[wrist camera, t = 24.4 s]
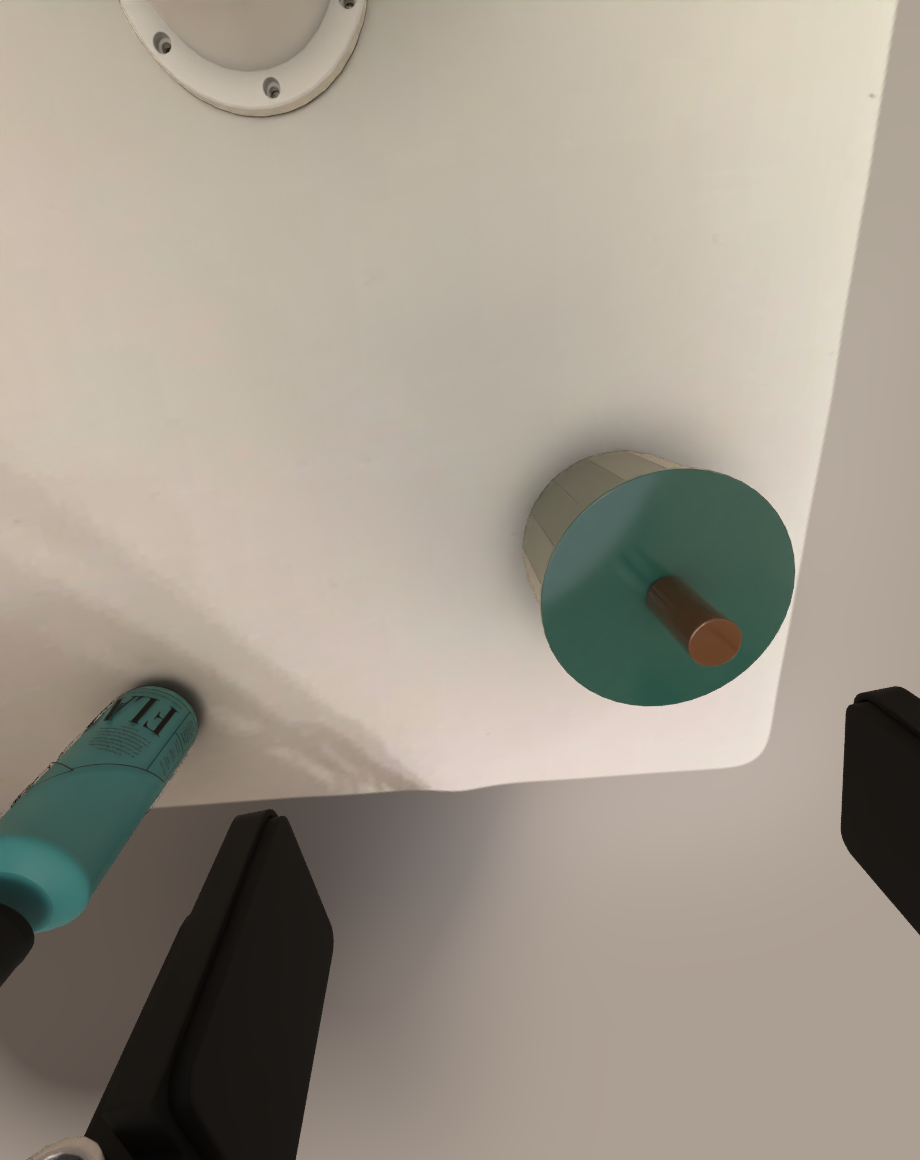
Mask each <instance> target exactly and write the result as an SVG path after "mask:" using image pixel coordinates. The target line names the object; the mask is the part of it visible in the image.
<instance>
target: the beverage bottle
mask: <svg viewBox="0 0 920 1160" xmlns="http://www.w3.org/2000/svg"><path fill="white" fill-rule="evenodd" d="M126 692H127V693H125V692H124V693H125V694H123V693H122V694H123V695H121V694H120V695H121V696H119V697H117V698H118V699H117V698H116V699H117V700H116V701H114V700H113V701H114V703H113V702H112V703H113V704H112V703H111V704H112V705H111V704H109V705H111V706H110V707H109V708H108V709H107V710H106V711H105V709H106V708H107V707H106V708H105V709H104V710H103V711H105V712H104V713H103V714H102V715H101V713H102V712H103V711H102V712H101V713H100V715H101V716H100V717H99V718H98V719H97V720H96V721H95V719H96V718H97V717H98V716H97V717H96V718H95V719H94V720H93V721H92V722H91V723H90V725H89V726H88V727H89V728H87V730H85V731H86V732H85V731H84V732H85V733H84V732H83V733H84V734H83V735H81V737H80V738H79V739H78V740H77V741H76V742H75V743H74V744H73V745H72V746H71V747H70V748H69V749H68V748H67V749H68V750H66V751H65V750H64V751H65V753H64V754H63V755H61V754H62V753H61V754H60V755H61V757H60V756H59V757H60V758H58V759H57V761H56V762H52V763H54V764H53V766H52V767H51V768H50V765H49V767H47V768H49V770H48V771H47V772H46V773H45V774H44V775H43V776H42V777H41V778H40V779H39V780H38V781H37V782H36V783H35V784H34V782H35V781H34V782H33V783H31V784H30V786H31V785H32V784H34V785H32V787H30V786H29V787H30V789H29V790H27V789H28V788H29V787H28V788H27V789H26V790H27V792H26V790H25V792H26V793H25V792H24V793H25V794H24V793H23V796H22V797H21V794H20V795H19V796H18V798H17V799H16V800H14V801H13V804H14V803H15V804H14V805H13V804H12V805H13V806H12V805H11V809H10V810H9V811H8V812H7V813H6V814H5V815H4V816H3V817H2V818H1V820H0V987H1V986H2V984H3V983H4V982H5V981H6V979H7V978H8V977H9V976H10V974H11V973H12V972H13V971H14V969H15V968H16V967H17V966H18V965H19V964H20V963H21V962H22V961H23V960H24V958H25V957H26V956H27V954H28V953H29V951H30V950H31V949H32V946H33V944H34V933H37V932H42V931H47V930H51V929H54V928H57V927H60V926H62V925H65V924H67V923H69V922H70V921H72V920H73V919H75V918H76V917H78V916H79V914H81V913H82V912H83V910H84V909H85V907H86V906H87V904H88V903H89V900H90V898H91V896H92V894H93V893H94V891H95V890H96V888H97V887H98V885H99V884H100V882H101V880H102V879H103V878H104V876H105V875H106V873H107V871H108V870H109V868H110V867H111V865H112V864H113V862H114V861H115V859H116V858H117V856H118V855H119V853H120V852H121V850H122V849H123V847H124V846H125V844H126V843H127V841H128V840H129V838H130V837H131V835H132V834H133V832H134V831H135V829H136V827H137V826H138V824H139V823H140V821H141V820H142V818H143V817H144V815H145V814H146V812H147V811H148V809H149V808H150V806H152V804H153V802H154V801H155V800H156V798H157V797H159V796H158V795H159V794H160V792H161V791H162V789H163V788H164V787H165V785H166V784H167V782H168V781H169V780H170V778H171V777H172V776H173V775H174V774H173V773H174V772H175V770H176V769H177V767H178V766H179V764H180V763H181V761H182V760H183V758H184V757H187V755H186V754H187V752H188V751H189V749H190V748H191V746H192V745H193V743H194V741H195V738H196V735H197V728H198V726H197V718H196V715H195V713H194V711H193V709H192V707H191V706H190V705H189V704H188V702H187V701H186V700H185V699H183V698H182V697H181V696H180V695H178V694H177V693H175V692H173V691H171V690H168V689H165V688H161V687H155V686H145V687H139V688H136V689H133V690H130V691H129V692H128V691H126ZM94 721H95V723H94ZM93 723H94V724H93ZM91 725H92V726H91ZM90 726H91V727H90ZM80 734H81V733H80ZM80 734H79V735H80ZM74 740H75V739H74ZM71 743H72V742H71ZM71 743H70V744H71ZM68 746H69V745H68ZM185 755H186V756H185ZM184 760H185V759H184ZM182 763H183V762H182ZM182 763H181V764H182ZM39 776H40V775H39ZM39 776H38V777H39ZM38 777H37V778H38ZM37 778H36V779H35V780H37ZM163 792H164V791H163ZM161 795H162V794H161ZM159 798H160V797H159ZM18 799H19V800H18ZM17 800H18V801H17ZM16 801H17V802H16ZM157 801H158V800H157ZM155 804H156V803H155ZM1 814H2V813H1Z"/></svg>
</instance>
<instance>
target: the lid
mask: <svg viewBox="0 0 920 1160" xmlns="http://www.w3.org/2000/svg"><path fill="white" fill-rule="evenodd" d="M794 578H795V563H794V553H793V549H792V544H791V540H790V538H789V535H788V532H787V530H786V527H785V525H784V523H783V522H782V520H781V518H780V517H779V515H778V513H777V512H776V511H775V509H774V508H773V507H772V506H771V505H770V503H769V502H768V501H767V500H766V499H765V498H764V497H763V496H761V495H760V494H759V493H758V492H757V491H756V490H754V489H753V488H751V487H750V486H748V485H746V484H745V483H743V482H742V481H739V480H737V479H735V478H732V477H730V476H728V475H725V474H722V473H719V472H715V471H711V470H708V469H700V468H692V467H672V468H665V469H658V470H653V471H649V472H645V473H642V474H638V475H635V476H633V477H630V478H628V479H626V480H623V481H621V482H619V483H617V484H615V485H614V486H612V487H610V488H608V489H606V490H605V491H603V492H602V493H600V494H599V495H598V496H596V497H595V498H594V499H592V500H591V501H590V502H588V503H587V504H586V505H585V506H584V507H583V508H582V509H581V510H580V511H579V512H578V513H577V514H576V515H575V516H574V517H573V518H572V520H571V521H570V522H569V523H568V524H567V526H566V527H565V528H564V530H563V531H562V533H561V534H560V536H559V537H558V539H557V541H556V542H555V544H554V546H553V548H552V550H551V552H550V555H549V557H548V559H547V562H546V565H545V569H544V572H543V576H542V581H541V587H540V603H539V604H540V615H541V621H542V625H543V630H544V633H545V636H546V638H547V641H548V643H549V646H550V648H551V650H552V652H553V654H554V655H555V657H556V659H557V660H558V662H559V663H560V664H561V666H562V667H563V668H564V669H565V671H566V672H567V673H568V674H569V675H570V676H571V677H573V678H574V679H575V680H576V681H577V682H578V683H579V684H581V685H582V686H584V687H585V688H587V689H588V690H590V691H592V692H594V693H596V694H598V695H600V696H602V697H604V698H607V699H610V700H613V701H616V702H620V703H624V704H629V705H638V706H663V705H671V704H677V703H681V702H685V701H689V700H693V699H695V698H698V697H701V696H704V695H706V694H708V693H710V692H712V691H715V690H717V689H719V688H721V687H722V686H724V685H725V684H727V683H729V682H730V681H732V680H733V679H735V678H736V677H737V676H739V675H740V674H741V673H743V672H744V671H745V670H746V669H748V668H749V667H750V666H751V665H752V664H753V663H754V662H755V661H756V660H757V659H758V658H759V657H760V656H761V654H762V653H763V652H764V651H765V650H766V648H767V647H768V646H769V645H770V643H771V642H772V640H773V639H774V637H775V635H776V634H777V632H778V631H779V629H780V627H781V625H782V623H783V621H784V619H785V616H786V614H787V611H788V608H789V605H790V602H791V598H792V593H793V588H794Z"/></svg>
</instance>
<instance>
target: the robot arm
mask: <svg viewBox="0 0 920 1160" xmlns="http://www.w3.org/2000/svg"><path fill="white" fill-rule="evenodd" d="M119 2H120V4H121V7H122V9H123V12H124V13H125V15H126V17H127V19H128V20H129V22H130V24H131V26H132V27H133V29H134V31H135V33H136V34H137V36H138V38H139V39H140V41H141V42H142V43H143V44H144V46H145V47H146V48H147V49H148V51H149V52H150V53H151V55H152V56H153V57H154V58H155V60H156V61H157V62H158V63H159V64H160V65H161V66H162V67H163V68H164V69H165V71H166V72H167V73H168V74H169V75H170V76H171V77H172V78H173V79H174V80H175V81H176V82H178V83H179V84H180V85H181V86H183V87H184V88H185V89H187V90H188V91H189V92H191V93H192V94H193V95H194V96H196V97H197V98H199V99H201V100H203V101H205V102H207V103H209V104H211V105H213V106H215V107H217V108H219V109H222V110H225V111H229V112H232V113H236V114H239V115H248V116H270V115H276V114H281V113H287V112H289V111H291V110H293V109H296V108H298V107H300V106H303V105H305V104H307V103H308V102H310V101H311V100H312V99H314V98H315V97H316V96H318V95H319V94H320V93H322V92H323V91H324V90H326V89H327V87H328V86H329V85H330V84H331V83H332V82H333V80H334V79H335V78H336V77H337V76H338V75H339V73H340V72H341V71H342V69H343V68H344V66H345V64H346V62H347V61H348V59H349V57H350V55H351V53H352V52H353V50H354V48H355V45H356V42H357V39H358V36H359V34H360V31H361V28H362V25H363V22H364V16H365V11H366V5H367V0H119ZM348 3H352V4H353V5H354V6H353V7H352V8H350V9H345V6H346V4H348ZM168 47H171V49H170V51H169V52H168V53H166V49H167V48H168ZM275 90H276V91H279V92H280V93H279V95H278V96H277V97H276V98H272V93H273V92H274V91H275ZM841 813H842V814H841V835H842V838H843V841H844V843H845V845H846V847H847V849H848V851H849V852H850V854H851V855H852V856H853V857H854V858H855V860H856V861H857V862H858V863H859V864H860V865H861V867H862V868H863V869H864V870H865V871H866V873H867V874H868V875H869V876H870V877H871V878H872V880H873V881H874V882H875V883H876V884H877V886H878V887H879V888H880V889H881V890H882V891H883V893H885V895H886V896H887V897H888V898H889V900H890V901H891V902H892V903H893V904H894V905H895V906H896V908H897V909H898V910H899V911H900V912H901V914H902V915H903V916H904V917H905V918H906V919H907V921H908V922H909V923H910V924H911V925H912V926H913V928H914V929H915V930H916V931H917V932H918V934H919V935H920V698H918V697H916V696H915V695H914V694H912V693H910V692H909V691H907V690H906V689H904V688H902V687H896V686H895V687H889V688H884V689H879V690H874V691H869V692H864V693H860V694H858V695H857V696H856V697H855V699H854V704H852V705H849V706H848V708H847V710H846V722H845V744H844V768H843V791H842V812H841ZM333 942H334V940H333V931H332V926H331V924H330V921H329V919H328V917H327V914H326V911H325V909H324V906H323V904H322V902H321V899H320V897H319V894H318V892H317V889H316V887H315V884H314V882H313V879H312V877H311V875H310V872H309V870H308V867H307V865H306V862H305V860H304V858H303V855H302V853H301V850H300V848H299V845H298V843H297V840H296V838H295V836H294V833H293V831H292V828H291V826H290V823H289V821H288V819H287V818H286V817H285V816H280V817H278V815H277V814H276V812H275V811H274V810H273V809H272V810H271V809H268V810H264V811H258V812H254V813H248V814H243V815H238V816H237V817H236V818H235V819H234V820H233V822H232V824H231V826H230V828H229V830H228V832H227V835H226V837H225V839H224V842H223V843H222V846H221V848H220V850H219V853H218V855H217V857H216V859H215V861H214V863H213V866H212V868H211V870H210V872H209V874H208V877H207V879H206V881H205V883H204V886H203V888H202V890H201V892H200V894H199V897H198V899H197V901H196V903H195V905H194V908H193V910H192V912H191V914H190V915H189V916H187V917H186V919H185V920H184V922H183V924H182V925H181V927H180V929H179V931H178V933H177V936H176V938H175V940H174V942H173V944H172V946H171V949H170V951H169V953H168V955H167V957H166V960H165V962H164V964H163V966H162V968H161V970H160V973H159V975H158V977H157V979H156V981H155V983H154V985H153V988H152V990H151V992H150V994H149V997H148V998H147V1001H146V1003H145V1005H144V1007H143V1009H142V1011H141V1014H140V1016H139V1018H138V1020H137V1023H136V1025H135V1027H134V1029H133V1031H132V1033H131V1035H130V1038H129V1040H128V1042H127V1044H126V1046H125V1048H124V1051H123V1053H122V1055H121V1057H120V1060H119V1061H118V1064H117V1066H116V1068H115V1070H114V1072H113V1074H112V1077H111V1079H110V1081H109V1083H108V1085H107V1088H106V1090H105V1092H104V1094H103V1096H102V1098H101V1101H100V1103H99V1105H98V1107H97V1109H96V1111H95V1114H94V1116H93V1118H92V1120H91V1122H90V1125H89V1127H88V1129H87V1131H86V1133H85V1135H84V1136H80V1137H67V1138H64V1139H62V1140H59V1141H57V1142H55V1143H52V1144H50V1145H48V1146H45V1147H44V1148H42V1149H41V1150H40V1151H38V1152H37V1153H35V1154H34V1155H33V1156H31V1157H30V1158H28V1159H27V1160H296V1155H297V1149H298V1144H299V1138H300V1132H301V1127H302V1121H303V1115H304V1110H305V1105H306V1099H307V1093H308V1088H309V1082H310V1077H311V1071H312V1066H313V1060H314V1054H315V1049H316V1043H317V1037H318V1032H319V1026H320V1021H321V1015H322V1010H323V1004H324V999H325V993H326V987H327V982H328V976H329V971H330V965H331V960H332V954H333Z"/></svg>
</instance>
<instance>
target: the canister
mask: <svg viewBox="0 0 920 1160" xmlns="http://www.w3.org/2000/svg"><path fill="white" fill-rule="evenodd" d="M672 467H684V466H681V465H678V464H676V463H673V462H671V461H668V460H665V459H663V458H660V457H656V456H650V455H646V454H642V453H637V452H630V451H615V452H608V453H602V454H598V455H595V456H591V457H589V458H586V459H584V460H581V461H579V462H577V463H575V464H574V465H572V466H570V467H569V468H567V469H566V470H564V471H563V472H562V473H560V474H559V475H558V476H557V477H556V478H555V479H554V480H553V481H551V482H550V483H549V484H548V486H547V487H546V488H545V489H544V491H543V492H542V493H541V494H540V496H539V498H538V499H537V501H536V502H535V504H534V506H533V508H532V510H531V512H530V515H529V517H528V521H527V524H526V527H525V533H524V539H523V554H524V562H525V566H526V570H527V576H528V580H529V583H530V585H531V587H532V590H533V592H534V594H535V597H536V599H537V601H538V603H540V587H541V581H542V576H543V572H544V569H545V565H546V562H547V559H548V557H549V555H550V552H551V550H552V548H553V546H554V544H555V542H556V541H557V539H558V537H559V536H560V534H561V533H562V531H563V530H564V528H565V527H566V526H567V524H568V523H569V522H570V521H571V520H572V518H573V517H574V516H575V515H576V514H577V513H578V512H579V511H580V510H581V509H582V508H583V507H584V506H585V505H586V504H587V503H588V502H590V501H591V500H592V499H594V498H595V497H596V496H598V495H599V494H600V493H602V492H603V491H605V490H606V489H608V488H610V487H612V486H614V485H615V484H617V483H619V482H621V481H623V480H626V479H628V478H630V477H633V476H635V475H638V474H642V473H645V472H649V471H653V470H658V469H665V468H672ZM539 606H540V604H539Z"/></svg>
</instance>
